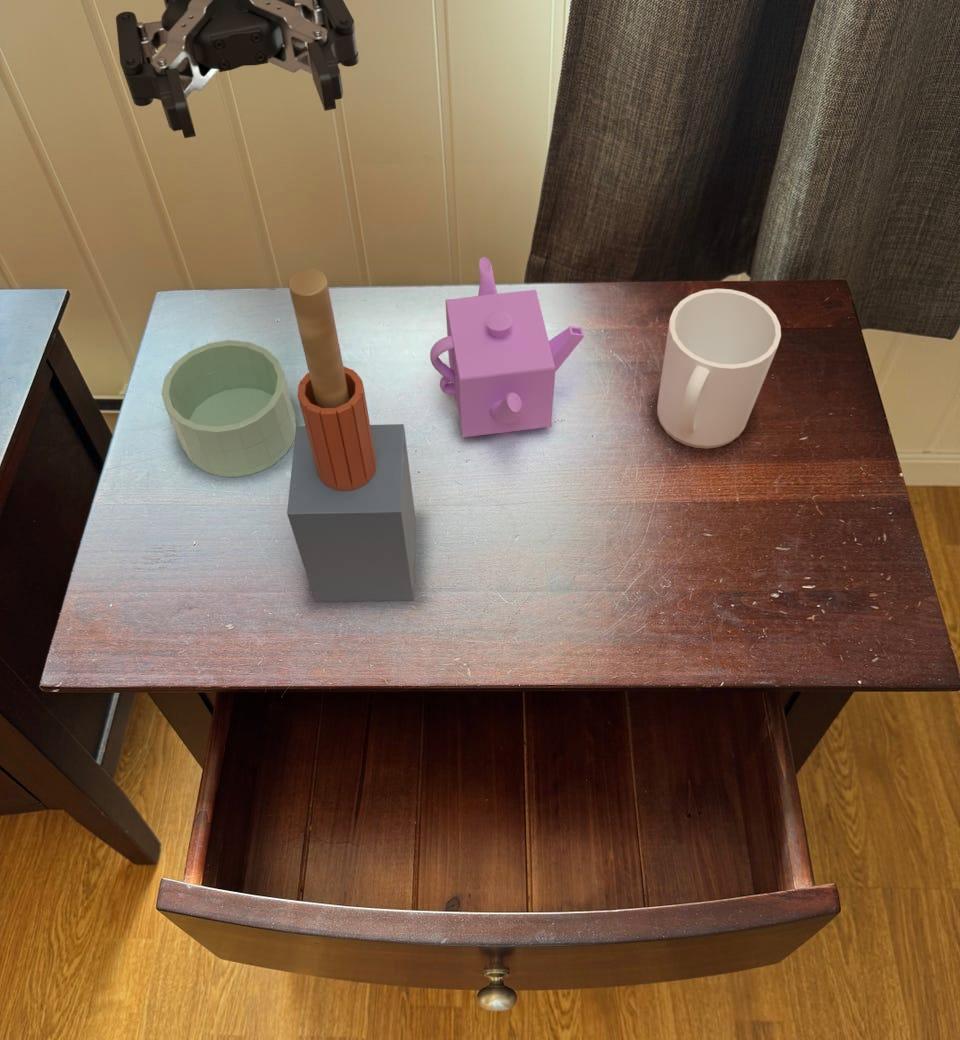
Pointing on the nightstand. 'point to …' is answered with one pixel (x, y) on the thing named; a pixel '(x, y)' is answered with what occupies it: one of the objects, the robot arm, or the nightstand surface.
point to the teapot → (500, 359)
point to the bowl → (230, 408)
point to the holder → (352, 501)
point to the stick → (319, 337)
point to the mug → (715, 365)
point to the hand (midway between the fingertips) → (258, 109)
